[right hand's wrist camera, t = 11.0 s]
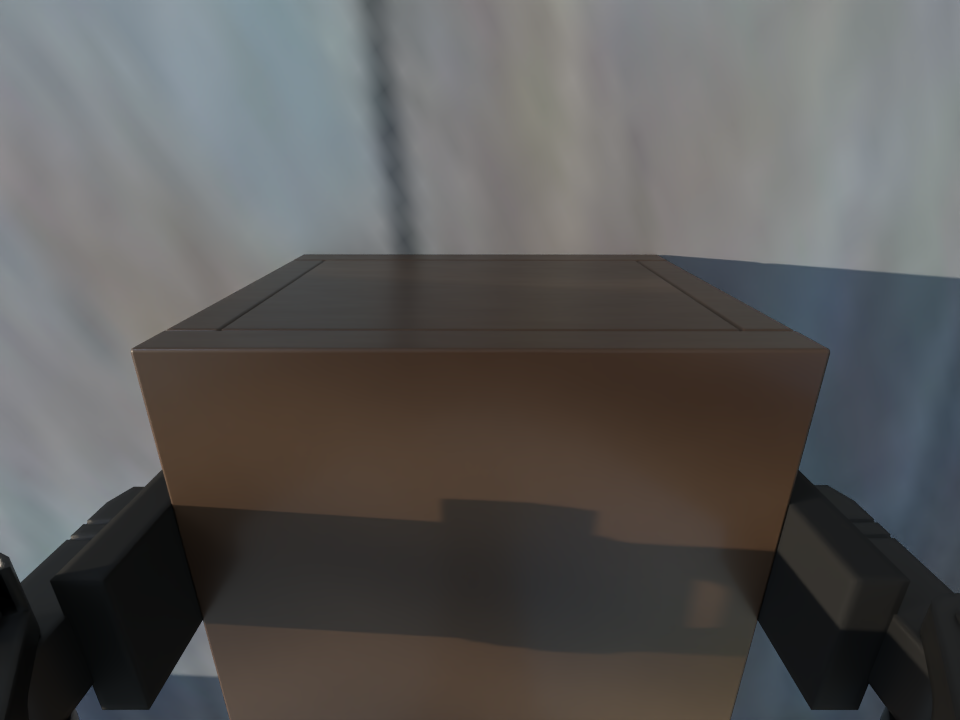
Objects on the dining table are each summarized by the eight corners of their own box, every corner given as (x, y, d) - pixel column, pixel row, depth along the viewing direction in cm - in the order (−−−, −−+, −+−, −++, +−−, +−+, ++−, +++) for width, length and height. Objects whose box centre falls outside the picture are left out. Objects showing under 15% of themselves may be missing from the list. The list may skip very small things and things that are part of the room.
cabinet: (596, 730, 23) (653, 1007, 16) (363, 729, 23) (306, 1007, 16) (657, 254, 15) (832, 349, 8) (302, 254, 15) (128, 348, 8)
